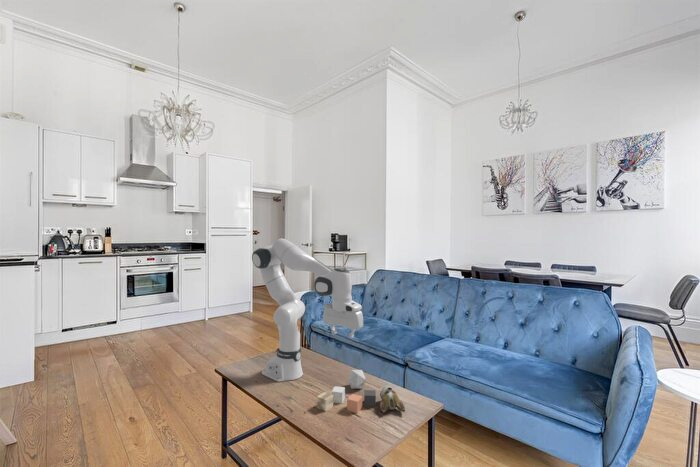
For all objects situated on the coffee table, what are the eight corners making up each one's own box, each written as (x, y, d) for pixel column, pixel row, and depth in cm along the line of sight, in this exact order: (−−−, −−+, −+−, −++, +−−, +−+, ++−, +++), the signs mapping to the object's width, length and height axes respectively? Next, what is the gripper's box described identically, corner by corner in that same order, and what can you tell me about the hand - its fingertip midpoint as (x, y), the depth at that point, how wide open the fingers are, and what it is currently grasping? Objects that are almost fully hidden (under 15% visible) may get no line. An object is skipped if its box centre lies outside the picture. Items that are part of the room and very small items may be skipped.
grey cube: (331, 402, 143) (331, 391, 143) (334, 396, 148) (334, 386, 148) (342, 403, 142) (342, 392, 142) (344, 398, 147) (344, 387, 147)
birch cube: (317, 407, 138) (317, 396, 138) (324, 403, 142) (324, 392, 142) (325, 411, 135) (325, 400, 135) (333, 407, 139) (333, 395, 139)
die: (359, 395, 151) (370, 375, 154) (343, 384, 153) (354, 365, 156) (358, 393, 159) (369, 374, 162) (343, 382, 161) (354, 364, 164)
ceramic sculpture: (398, 379, 147) (406, 397, 132) (397, 397, 148) (406, 417, 133) (375, 380, 146) (381, 399, 131) (375, 398, 147) (381, 419, 132)
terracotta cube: (347, 410, 137) (347, 398, 137) (352, 405, 141) (352, 393, 141) (357, 413, 134) (357, 401, 134) (362, 407, 139) (362, 396, 139)
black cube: (364, 406, 140) (364, 395, 140) (364, 400, 145) (364, 389, 145) (375, 407, 139) (375, 395, 140) (375, 401, 144) (375, 390, 144)
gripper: (319, 303, 146) (320, 333, 146) (357, 308, 134) (357, 341, 134) (328, 301, 151) (328, 330, 151) (364, 306, 139) (365, 337, 139)
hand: (342, 335), depth 142 cm, fingers open, 8 cm apart
